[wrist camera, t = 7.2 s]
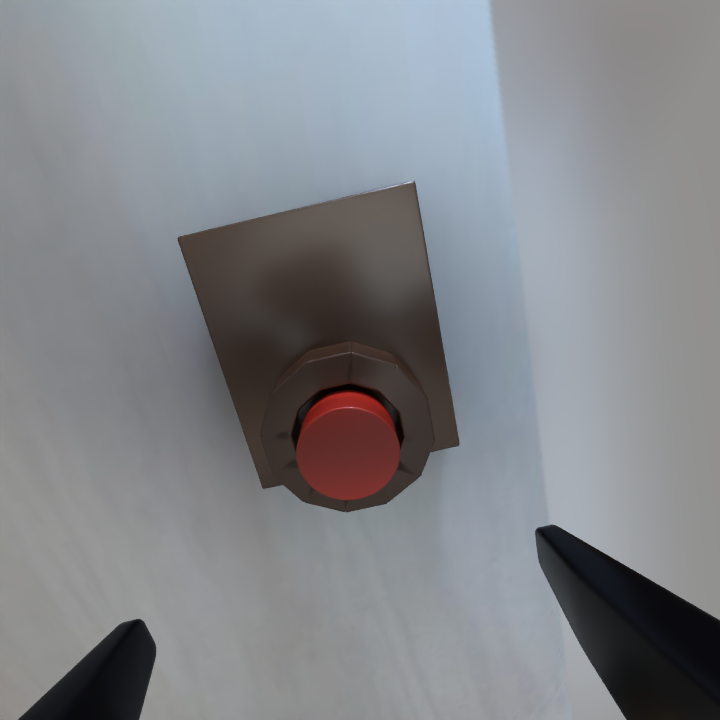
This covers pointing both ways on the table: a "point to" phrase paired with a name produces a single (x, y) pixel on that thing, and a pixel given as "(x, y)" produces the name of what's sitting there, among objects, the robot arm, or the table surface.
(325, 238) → the switch block
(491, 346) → the table surface
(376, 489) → the red button
